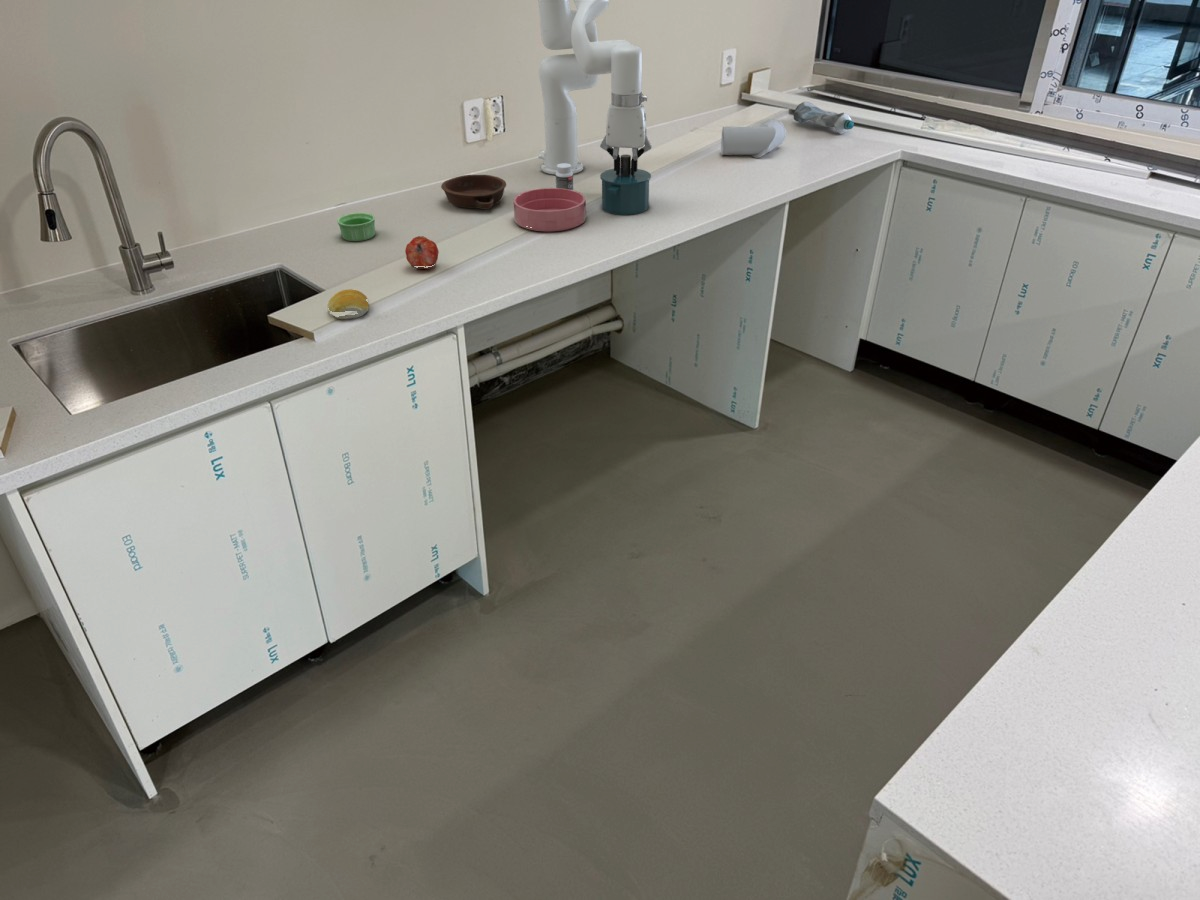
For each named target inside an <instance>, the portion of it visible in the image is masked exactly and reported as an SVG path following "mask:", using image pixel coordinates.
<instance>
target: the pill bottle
mask: <svg viewBox="0 0 1200 900" xmlns="http://www.w3.org/2000/svg"><path fill="white" fill-rule="evenodd" d="M557 171H558V172H556V175H555V188H563V189H570V190H574V174H573V173H572V172H571V165H570V164H567V163H561V164H558V165H557Z"/></svg>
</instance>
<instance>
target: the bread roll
mask: <svg viewBox="0 0 1200 900" xmlns="http://www.w3.org/2000/svg"><path fill="white" fill-rule="evenodd" d="M366 299H368V297H367V295H366V294H365V293H363V292H362V291H360V290H357V289H353V288H352V289H351V288H350V289H343V290H340V291H338V292H337V293H335V294H334V295H333V296H331V297H330V298H329V300H328V303H327V309H328V308H329V310H330V311H332V312H345V311H357V313H358V314H355V315H345V316H339V317H338V318H337V317H336V318H335V319H340V320H349V319H351V320H352V319H357V318H360V317H363V316H364V315H365V314H366V313H368V312H369V308H370V304H369V301H368V302H367V301H366ZM368 307H369V308H368ZM330 316H332V317H333V315H332V314H330Z"/></svg>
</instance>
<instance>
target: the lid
mask: <svg viewBox="0 0 1200 900" xmlns="http://www.w3.org/2000/svg"><path fill="white" fill-rule="evenodd" d="M620 158H621V168H620V174H619V175H616V171H614V168H610V169H607V170H604V171H602V172H601V173H600V175H599V178H600V180H601V181H602V180H603V181H604V182H607V183H610V184H616V185H635V184H641V183H644V182H647V181H649V182H650V181H651V179H652V174H651V173H650V172H649V171H647V170H645V169H642V168H637V172H635V174H634V176H632V175H631V160H632V156H631V155H630V154H621V155H620Z"/></svg>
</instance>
